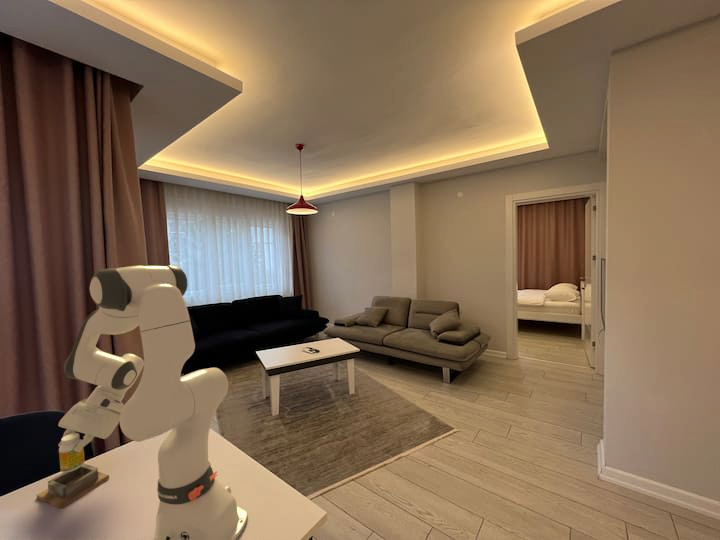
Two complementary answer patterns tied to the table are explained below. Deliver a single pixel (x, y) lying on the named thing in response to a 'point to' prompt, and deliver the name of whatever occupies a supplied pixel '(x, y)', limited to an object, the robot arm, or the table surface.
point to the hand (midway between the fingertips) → (68, 449)
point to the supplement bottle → (70, 453)
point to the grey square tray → (72, 485)
